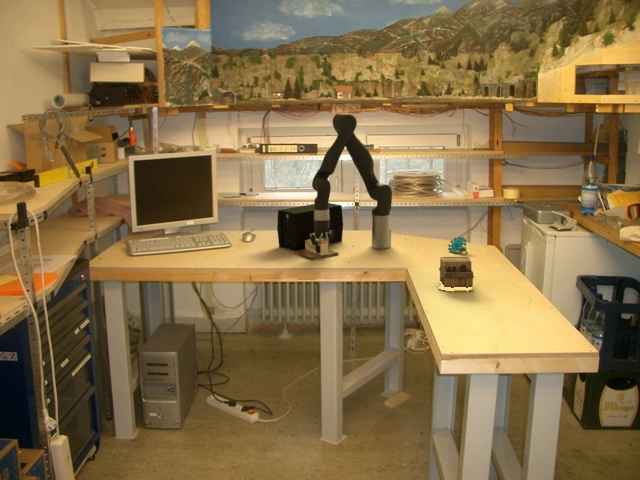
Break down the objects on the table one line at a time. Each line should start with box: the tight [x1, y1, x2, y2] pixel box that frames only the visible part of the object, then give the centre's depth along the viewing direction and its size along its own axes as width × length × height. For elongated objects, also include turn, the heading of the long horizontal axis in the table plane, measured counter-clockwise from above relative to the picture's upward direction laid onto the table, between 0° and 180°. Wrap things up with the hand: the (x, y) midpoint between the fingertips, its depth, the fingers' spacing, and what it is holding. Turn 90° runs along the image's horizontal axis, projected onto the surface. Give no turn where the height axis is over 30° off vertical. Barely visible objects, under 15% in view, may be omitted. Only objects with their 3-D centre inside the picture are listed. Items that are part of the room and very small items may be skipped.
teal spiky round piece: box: [447, 236, 468, 254], centre depth 305 cm, size 11×6×10 cm
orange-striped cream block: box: [316, 239, 328, 255], centre depth 301 cm, size 4×5×7 cm
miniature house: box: [438, 256, 475, 288], centre depth 251 cm, size 15×14×11 cm
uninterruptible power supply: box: [276, 202, 344, 252], centre depth 324 cm, size 16×34×20 cm, turn 131°
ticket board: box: [293, 239, 339, 261], centre depth 305 cm, size 16×16×6 cm
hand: (322, 252), depth 301 cm, fingers closed on orange-striped cream block, 4 cm apart
